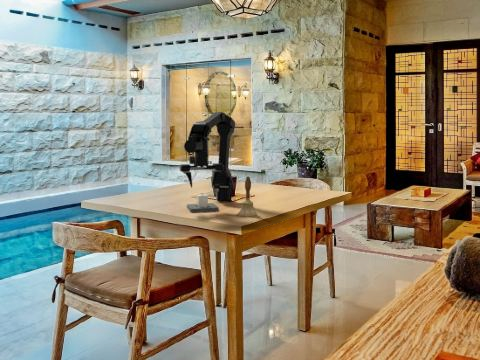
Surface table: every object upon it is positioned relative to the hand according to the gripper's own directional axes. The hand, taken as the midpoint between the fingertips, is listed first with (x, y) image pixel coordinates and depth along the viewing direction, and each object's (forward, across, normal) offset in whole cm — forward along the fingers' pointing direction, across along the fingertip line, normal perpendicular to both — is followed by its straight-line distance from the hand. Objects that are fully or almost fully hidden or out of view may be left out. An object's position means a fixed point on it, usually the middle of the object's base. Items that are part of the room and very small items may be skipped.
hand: (201, 187), depth 227 cm
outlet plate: (+10, 0, 0) cm, 10 cm away
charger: (+10, 0, 0) cm, 10 cm away
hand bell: (+10, -16, +17) cm, 25 cm away
